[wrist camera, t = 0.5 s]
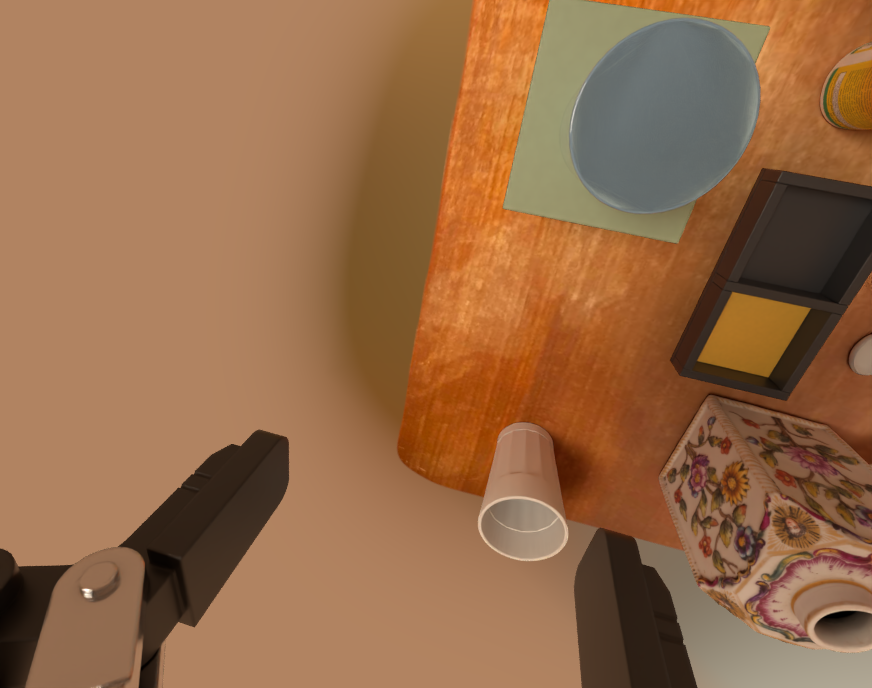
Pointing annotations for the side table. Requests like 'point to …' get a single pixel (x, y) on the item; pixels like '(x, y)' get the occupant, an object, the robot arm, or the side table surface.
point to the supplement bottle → (849, 91)
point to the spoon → (862, 356)
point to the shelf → (547, 99)
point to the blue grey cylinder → (662, 116)
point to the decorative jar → (776, 523)
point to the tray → (779, 284)
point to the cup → (524, 496)
